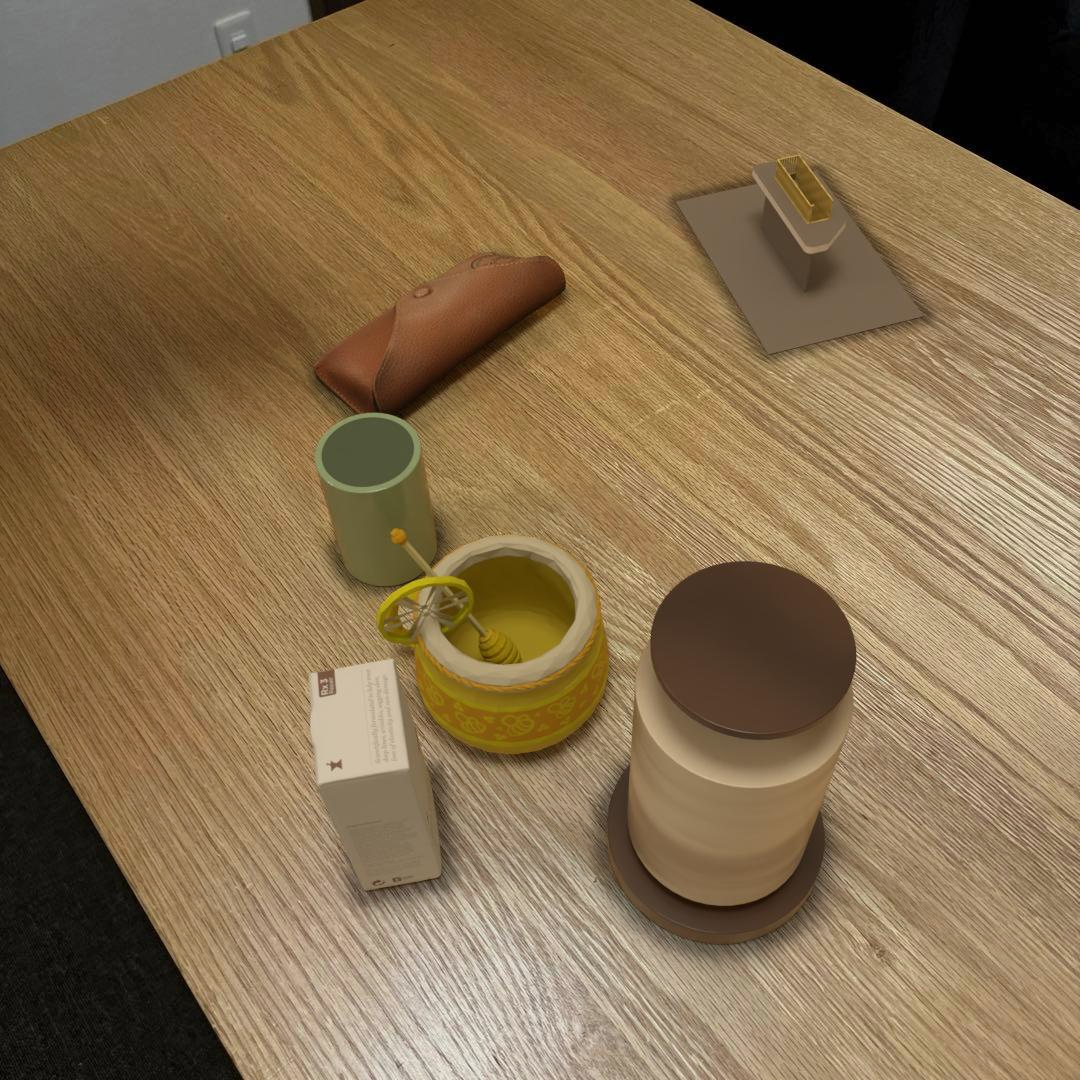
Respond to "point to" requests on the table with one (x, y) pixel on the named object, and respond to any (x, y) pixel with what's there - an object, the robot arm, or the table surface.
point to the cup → (377, 496)
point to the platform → (796, 258)
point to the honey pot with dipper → (503, 641)
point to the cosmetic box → (374, 774)
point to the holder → (732, 752)
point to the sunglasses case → (436, 330)
